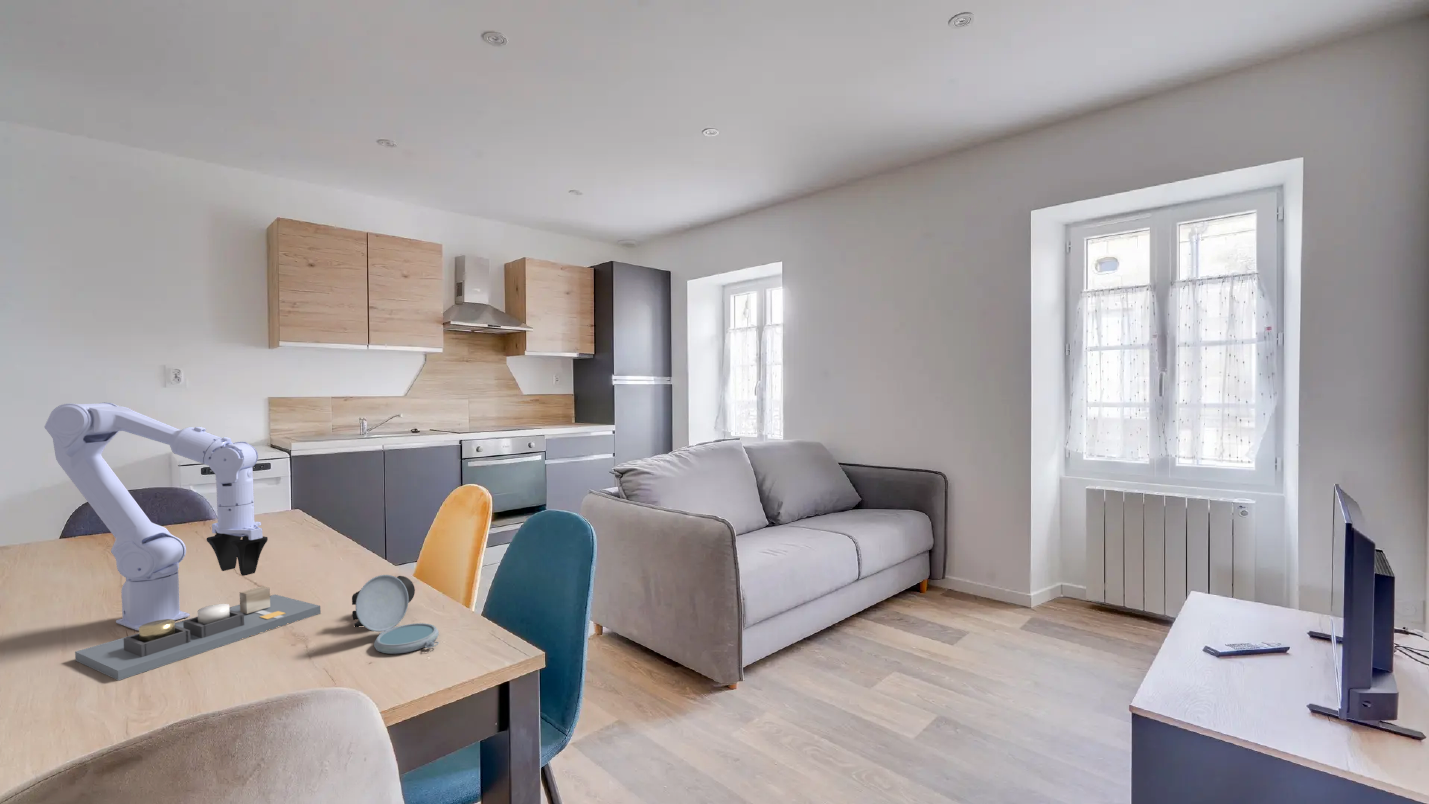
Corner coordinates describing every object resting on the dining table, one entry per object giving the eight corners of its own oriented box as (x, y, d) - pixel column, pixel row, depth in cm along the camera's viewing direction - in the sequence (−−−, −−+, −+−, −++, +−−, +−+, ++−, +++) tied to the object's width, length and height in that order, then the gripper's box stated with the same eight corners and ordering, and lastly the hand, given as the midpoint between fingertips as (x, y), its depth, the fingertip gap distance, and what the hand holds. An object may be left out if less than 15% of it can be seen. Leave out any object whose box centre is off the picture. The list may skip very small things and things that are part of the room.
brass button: (134, 638, 100) (133, 626, 100) (167, 628, 104) (167, 617, 104) (146, 643, 98) (146, 631, 98) (180, 633, 102) (179, 621, 102)
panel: (75, 660, 99) (74, 639, 99) (275, 601, 126) (274, 584, 126) (118, 680, 92) (117, 657, 92) (320, 613, 119) (319, 595, 119)
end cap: (389, 628, 111) (388, 591, 111) (351, 628, 111) (350, 592, 111) (415, 608, 121) (415, 575, 121) (380, 608, 121) (379, 575, 121)
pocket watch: (402, 567, 112) (458, 578, 105) (404, 625, 112) (459, 640, 105) (349, 583, 103) (406, 596, 96) (351, 646, 103) (407, 663, 97)
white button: (193, 621, 107) (192, 610, 107) (222, 613, 111) (221, 602, 111) (205, 625, 105) (205, 614, 105) (234, 616, 109) (234, 605, 109)
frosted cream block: (240, 611, 115) (239, 592, 115) (263, 604, 119) (262, 586, 119) (247, 613, 114) (246, 594, 114) (270, 606, 118) (269, 587, 118)
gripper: (278, 502, 119) (281, 570, 119) (239, 497, 126) (241, 562, 126) (237, 509, 113) (240, 581, 113) (198, 504, 119) (201, 571, 120)
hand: (238, 571), depth 119 cm, fingers open, 7 cm apart
